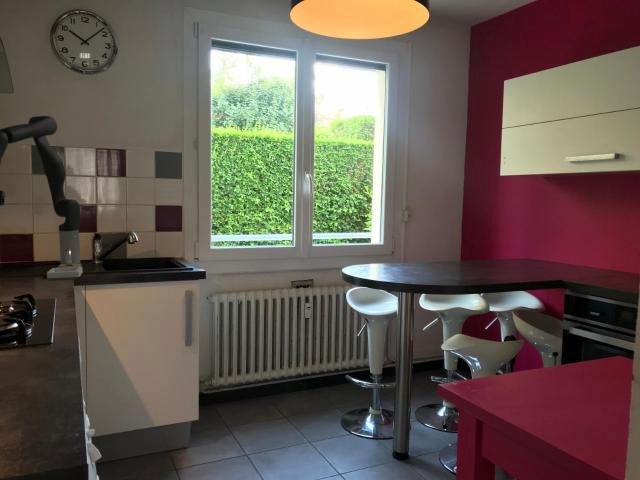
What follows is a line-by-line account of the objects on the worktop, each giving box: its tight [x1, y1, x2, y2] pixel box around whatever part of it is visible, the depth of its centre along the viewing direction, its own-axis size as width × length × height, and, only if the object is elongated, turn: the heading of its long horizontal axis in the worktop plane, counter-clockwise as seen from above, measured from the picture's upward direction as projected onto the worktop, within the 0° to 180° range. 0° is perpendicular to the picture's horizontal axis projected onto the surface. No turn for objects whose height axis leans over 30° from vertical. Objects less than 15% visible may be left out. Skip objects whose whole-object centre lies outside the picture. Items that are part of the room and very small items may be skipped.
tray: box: [46, 266, 83, 282], centre depth 232 cm, size 12×12×4 cm
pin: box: [65, 249, 72, 266], centre depth 243 cm, size 3×3×10 cm
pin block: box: [56, 263, 82, 268], centre depth 244 cm, size 9×9×4 cm
